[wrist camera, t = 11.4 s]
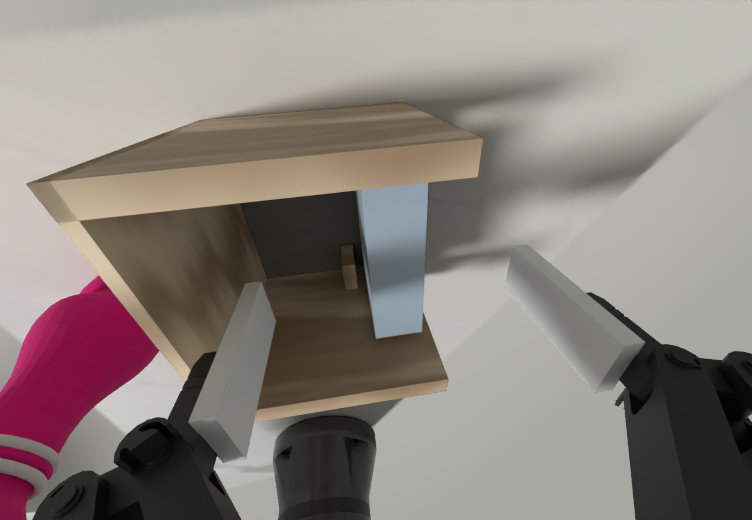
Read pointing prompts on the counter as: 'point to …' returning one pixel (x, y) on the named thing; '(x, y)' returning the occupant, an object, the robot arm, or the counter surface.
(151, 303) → the cabinet
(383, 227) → the door
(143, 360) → the pepper mill
